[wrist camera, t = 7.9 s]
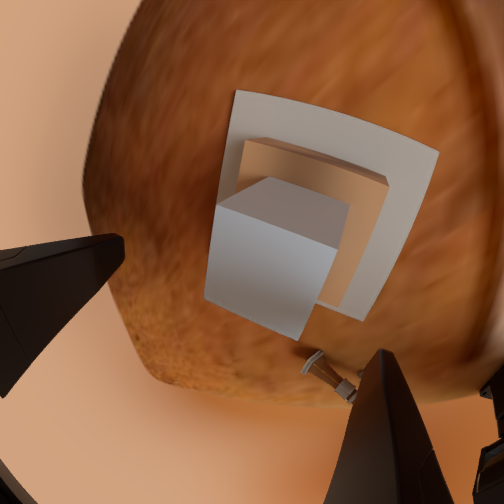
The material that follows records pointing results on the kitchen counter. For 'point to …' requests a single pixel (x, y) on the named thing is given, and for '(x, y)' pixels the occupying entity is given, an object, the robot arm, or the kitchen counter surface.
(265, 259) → the grey block
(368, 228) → the plinth
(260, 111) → the build mat
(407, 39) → the kitchen counter surface
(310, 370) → the wooden post with brackets
